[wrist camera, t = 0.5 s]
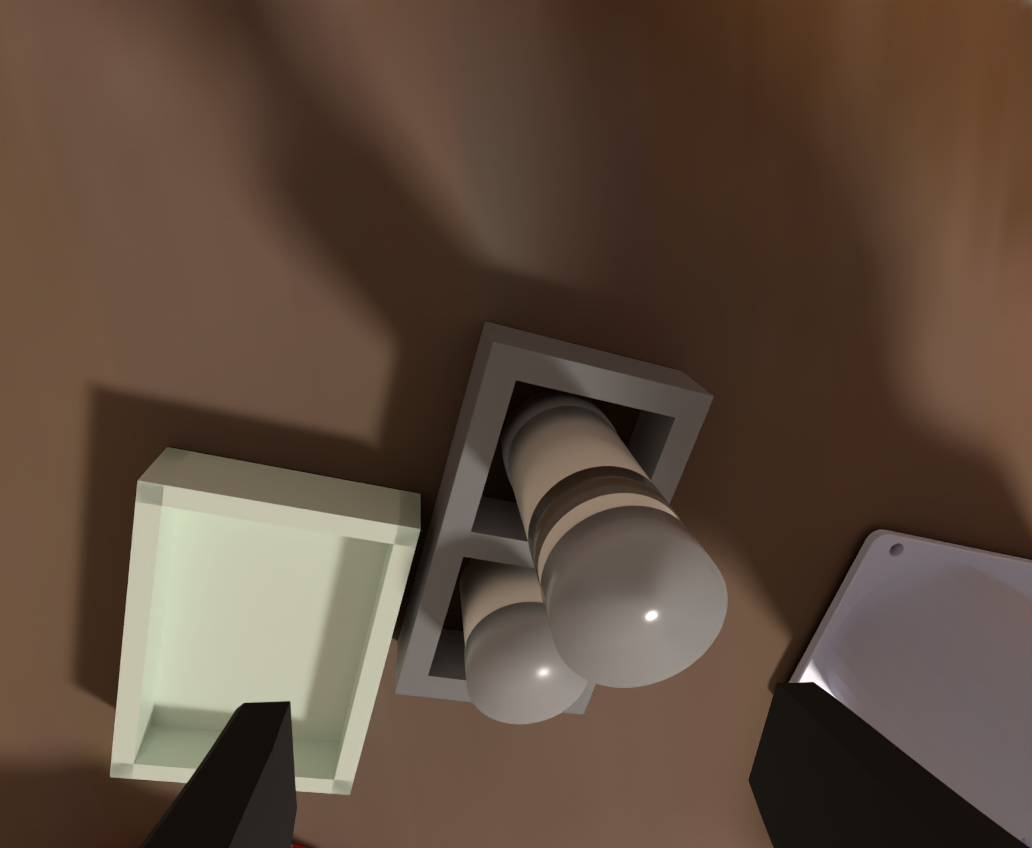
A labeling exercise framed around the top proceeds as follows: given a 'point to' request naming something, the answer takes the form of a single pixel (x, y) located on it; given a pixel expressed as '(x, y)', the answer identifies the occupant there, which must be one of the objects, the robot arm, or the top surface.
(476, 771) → the top surface
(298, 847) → the kitchen timer
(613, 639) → the cylinder
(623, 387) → the grey compartment rack
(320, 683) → the parts tray
